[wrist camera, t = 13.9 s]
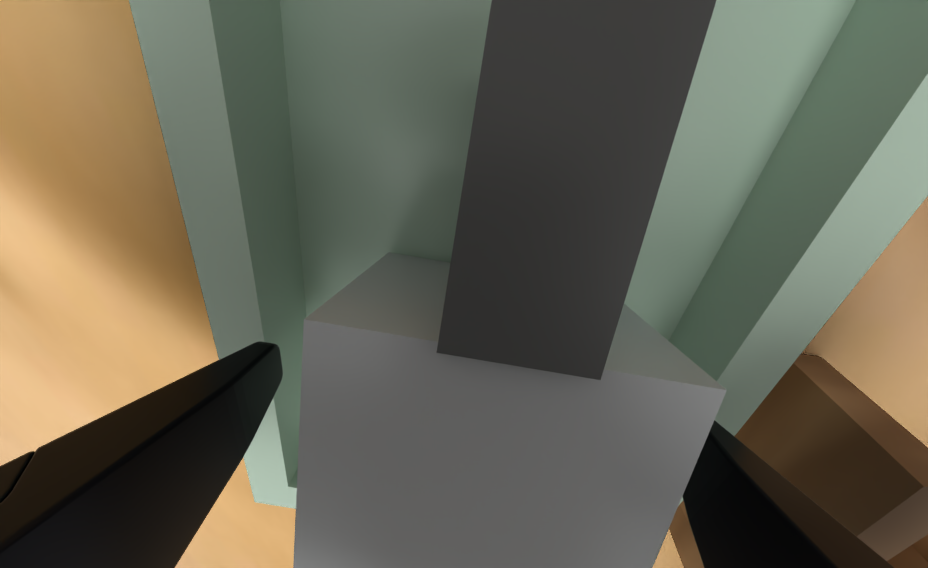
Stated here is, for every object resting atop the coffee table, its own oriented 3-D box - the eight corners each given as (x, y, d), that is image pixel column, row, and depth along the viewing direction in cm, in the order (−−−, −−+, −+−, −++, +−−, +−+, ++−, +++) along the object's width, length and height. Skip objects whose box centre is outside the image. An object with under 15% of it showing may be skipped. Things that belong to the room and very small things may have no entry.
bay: (1116, 407, 10) (1427, 570, 7) (902, 547, 14) (1031, 694, 11) (780, 350, 10) (924, 486, 7) (660, 507, 14) (713, 643, 11)
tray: (1041, -231, 5) (1463, -471, 3) (610, 485, 14) (632, 564, 12) (186, -386, 5) (-61, -757, 3) (293, 433, 14) (255, 501, 12)
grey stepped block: (657, 115, 8) (912, 22, 3) (537, 532, 11) (578, 779, 7) (407, 72, 8) (305, -82, 3) (361, 503, 11) (279, 732, 7)
